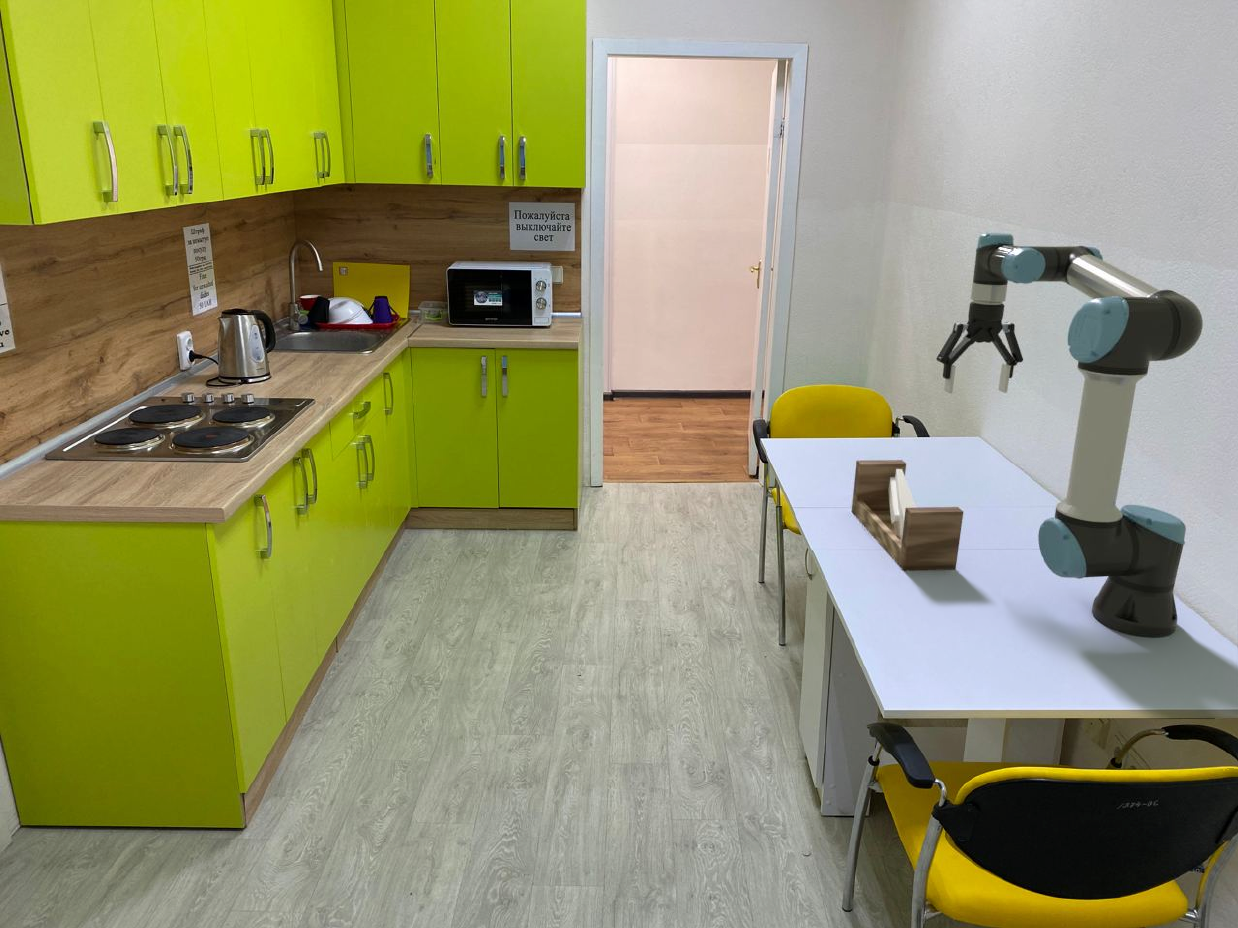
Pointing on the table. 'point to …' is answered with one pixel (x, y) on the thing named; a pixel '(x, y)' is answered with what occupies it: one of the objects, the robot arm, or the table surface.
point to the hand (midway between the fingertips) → (975, 391)
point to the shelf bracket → (899, 501)
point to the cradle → (905, 521)
